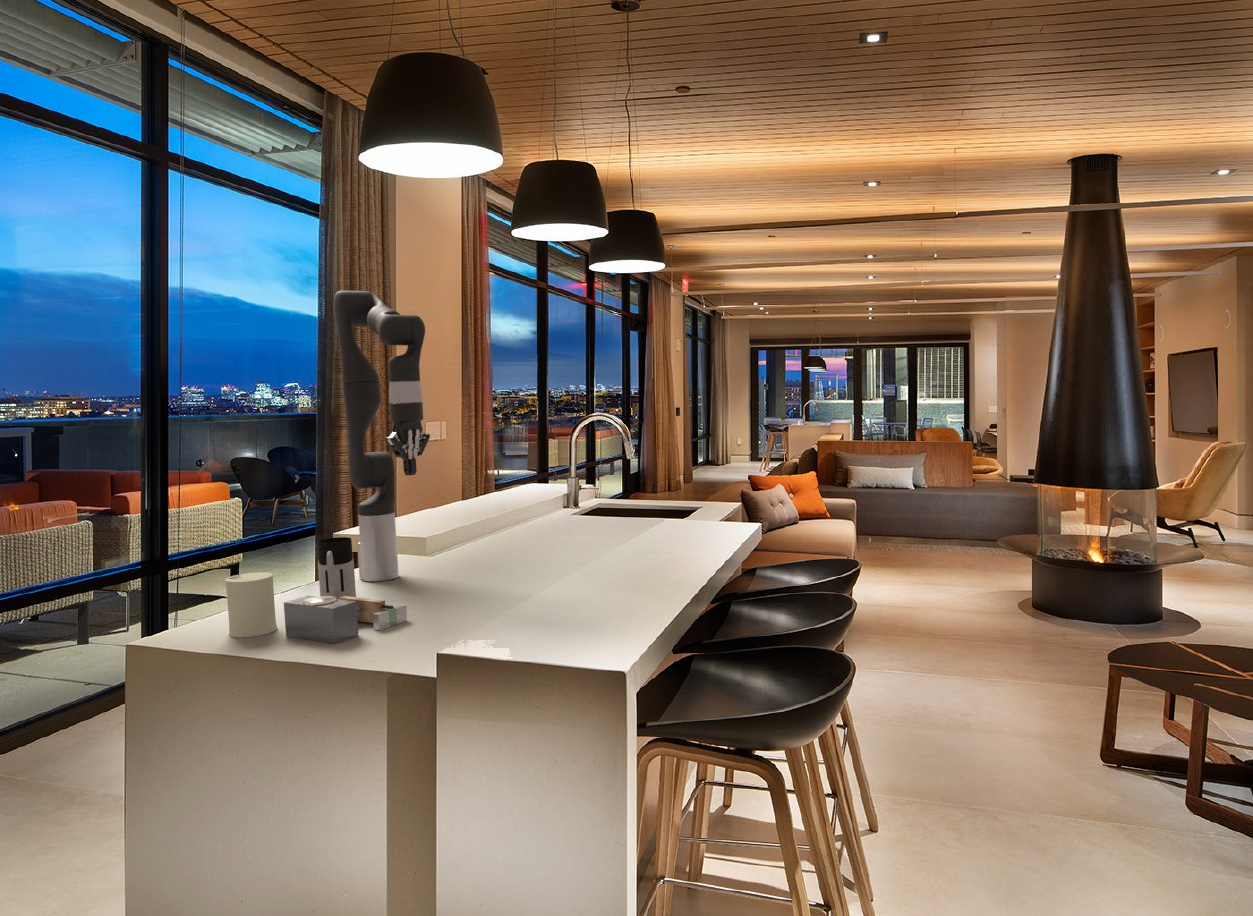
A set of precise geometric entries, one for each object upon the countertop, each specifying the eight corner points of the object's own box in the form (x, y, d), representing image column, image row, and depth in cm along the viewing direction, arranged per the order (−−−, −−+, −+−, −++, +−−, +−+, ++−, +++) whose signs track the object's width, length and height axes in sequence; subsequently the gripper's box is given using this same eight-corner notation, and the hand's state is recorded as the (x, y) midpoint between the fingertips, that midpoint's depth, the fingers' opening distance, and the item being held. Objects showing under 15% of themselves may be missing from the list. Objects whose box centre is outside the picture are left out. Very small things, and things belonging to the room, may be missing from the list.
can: (238, 626, 182) (234, 571, 181) (283, 624, 183) (279, 568, 182) (221, 639, 173) (217, 580, 172) (268, 636, 174) (264, 578, 173)
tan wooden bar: (325, 623, 181) (323, 601, 180) (345, 616, 186) (344, 595, 185) (376, 630, 174) (374, 608, 173) (396, 623, 178) (394, 601, 178)
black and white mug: (360, 597, 204) (356, 535, 203) (352, 612, 191) (347, 546, 189) (322, 600, 203) (318, 538, 202) (311, 615, 189) (306, 548, 188)
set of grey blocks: (285, 636, 173) (282, 600, 173) (355, 613, 189) (353, 580, 189) (338, 644, 166) (336, 607, 165) (407, 620, 182) (405, 586, 181)
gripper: (413, 400, 207) (417, 471, 209) (373, 402, 196) (377, 477, 197) (437, 399, 204) (441, 472, 205) (397, 401, 192) (402, 478, 194)
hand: (410, 474), depth 201 cm, fingers closed
